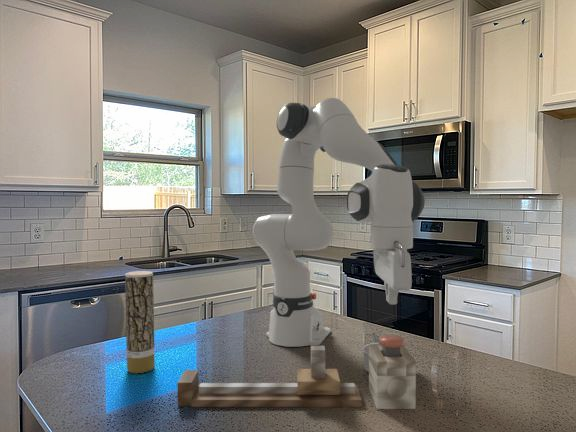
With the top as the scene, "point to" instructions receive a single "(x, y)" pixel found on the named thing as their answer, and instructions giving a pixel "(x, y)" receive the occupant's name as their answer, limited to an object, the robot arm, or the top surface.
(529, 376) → the top surface
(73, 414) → the top surface
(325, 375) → the carriage
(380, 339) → the button
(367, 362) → the saucepan
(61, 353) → the top surface
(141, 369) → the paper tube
